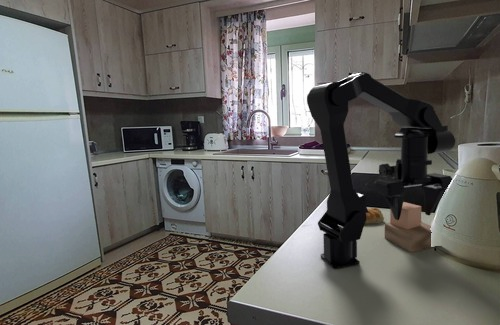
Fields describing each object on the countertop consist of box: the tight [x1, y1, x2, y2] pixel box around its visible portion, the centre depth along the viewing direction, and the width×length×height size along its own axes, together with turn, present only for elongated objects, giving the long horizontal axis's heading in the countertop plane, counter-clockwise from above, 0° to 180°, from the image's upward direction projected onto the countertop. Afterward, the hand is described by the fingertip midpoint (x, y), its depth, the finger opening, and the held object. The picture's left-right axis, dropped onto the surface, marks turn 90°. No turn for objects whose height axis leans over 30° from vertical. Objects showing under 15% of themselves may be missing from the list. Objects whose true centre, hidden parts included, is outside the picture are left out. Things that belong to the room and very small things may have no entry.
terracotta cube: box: [389, 201, 422, 229], centre depth 75 cm, size 5×5×5 cm
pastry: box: [364, 207, 385, 225], centre depth 91 cm, size 9×7×4 cm
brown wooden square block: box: [384, 221, 432, 253], centre depth 74 cm, size 9×9×4 cm
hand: (412, 217), depth 74 cm, fingers open, 9 cm apart
